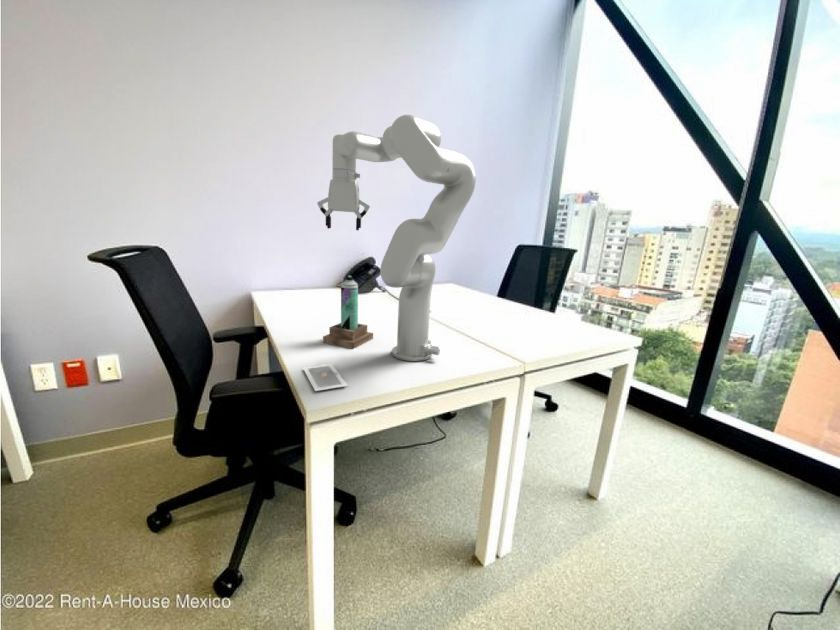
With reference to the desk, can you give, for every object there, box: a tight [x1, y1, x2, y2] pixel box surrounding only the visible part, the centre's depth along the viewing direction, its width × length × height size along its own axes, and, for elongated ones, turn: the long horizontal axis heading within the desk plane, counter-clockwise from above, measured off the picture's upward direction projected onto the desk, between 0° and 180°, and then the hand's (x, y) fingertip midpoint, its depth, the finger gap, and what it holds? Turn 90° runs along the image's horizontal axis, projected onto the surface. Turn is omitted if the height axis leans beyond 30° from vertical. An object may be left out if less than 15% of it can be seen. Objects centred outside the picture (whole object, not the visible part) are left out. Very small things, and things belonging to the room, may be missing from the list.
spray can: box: [340, 275, 359, 330], centre depth 124 cm, size 6×6×20 cm
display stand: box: [322, 322, 374, 349], centre depth 126 cm, size 12×12×5 cm
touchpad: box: [302, 363, 348, 392], centre depth 96 cm, size 8×15×2 cm, turn 27°
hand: (343, 229), depth 128 cm, fingers open, 9 cm apart
